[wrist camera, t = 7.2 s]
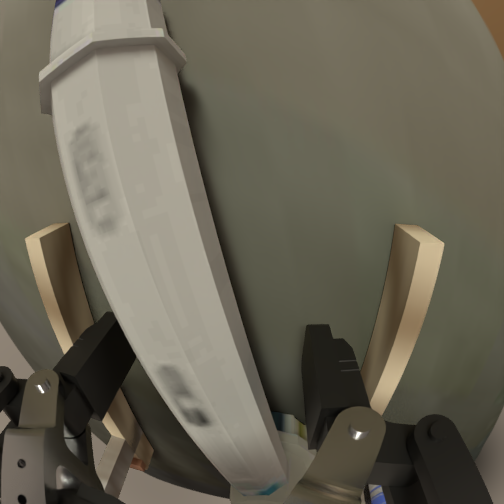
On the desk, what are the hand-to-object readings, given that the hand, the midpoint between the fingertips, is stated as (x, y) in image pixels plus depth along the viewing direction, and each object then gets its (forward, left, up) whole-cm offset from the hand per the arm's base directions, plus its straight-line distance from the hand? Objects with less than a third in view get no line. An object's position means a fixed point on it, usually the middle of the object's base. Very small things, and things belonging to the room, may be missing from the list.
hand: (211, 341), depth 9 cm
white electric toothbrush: (0, 0, -2) cm, 2 cm away
